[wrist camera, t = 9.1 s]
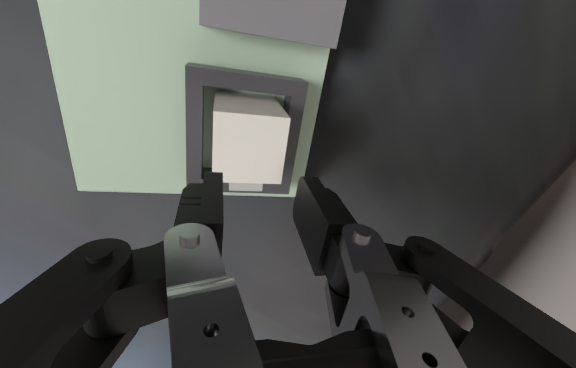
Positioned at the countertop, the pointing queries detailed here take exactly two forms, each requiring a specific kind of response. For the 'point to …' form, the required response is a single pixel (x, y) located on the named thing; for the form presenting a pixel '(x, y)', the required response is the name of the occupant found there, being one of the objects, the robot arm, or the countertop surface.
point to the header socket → (243, 81)
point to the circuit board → (172, 77)
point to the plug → (249, 139)
